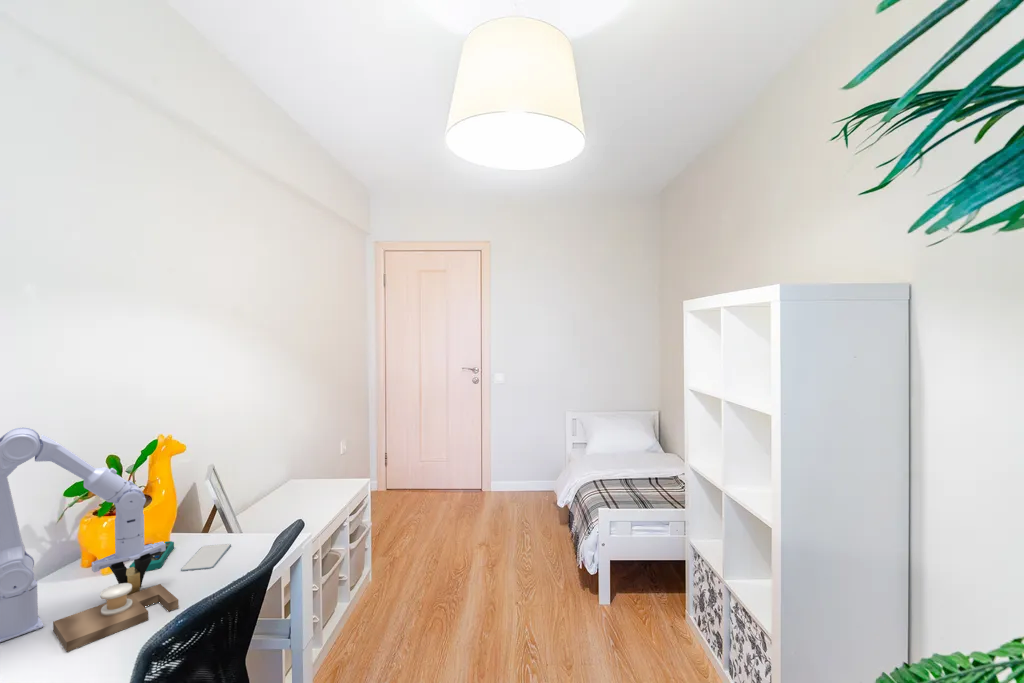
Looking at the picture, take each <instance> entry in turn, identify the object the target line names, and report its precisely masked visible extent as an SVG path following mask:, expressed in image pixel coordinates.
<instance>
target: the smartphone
mask: <svg viewBox="0 0 1024 683" xmlns="http://www.w3.org/2000/svg"><path fill="white" fill-rule="evenodd" d="M231 547H232V544H231V543H222V544H212V545H211V544H210V545H203V546H201V547H200V548H199V549H198V551H196V552H195V554H194V555H192V556H191V558H190V559H189V560H188V561H187V562H186V563H185V564H184V565H183V567H182V568H180V572H188V570H191V571H196V570H197V571H199V570H200V571H201V570H211V569H214V568H215V567H216V565H217V564H218V563H219V562H220V561H221V560H222V558H223V557H224V556H225V555H226V554H227V552H228V551H229V549H231Z"/></svg>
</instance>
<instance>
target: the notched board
mask: <svg viewBox="0 0 1024 683" xmlns="http://www.w3.org/2000/svg"><path fill="white" fill-rule="evenodd" d="M127 599H131V600H132V606H131V607H130V608H129V609H128V610H126V611H124V612H122V613H119V614H115V615H110V616H104V615H102V614H101V608H102V607H103V606H104V605H106V604H107V602H105V603H102V604H99V605H95V606H94V607H90V608H87V609H85V610H82V611H79V612H76V613H73V614H71V615H68V616H65V617H62V618H60V619H57V620H54V621H52V624H53V625H52V629H53V633H54V634H55V636H56V637H57V639H58V640H59V642H60V644H61V645H62V647H63V648H64V651H66V652H70V651H73V650H75V649H78V648H80V647H83V646H85V645H87V644H90V643H93V642H96V641H98V640H100V639H103V638H106V637H108V636H111V635H114V634H116V633H119V632H121V631H124V630H126V629H128V628H131V627H134V626H136V625H139V624H141V623H143V622H146V621H148V620H149V610H148V609H147V607H145V606H148V605H151V604H153V603H156V604H158V603H157V602H160V603H159V604H160V605H161V606H162V605H163V606H162V607H163V608H164V607H165V608H166V609H167V610H168V611H167V610H166V609H165V608H164V609H165V610H166V611H167V612H171V611H170V610H172V611H174V610H176V608H177V609H179V608H180V607H179V606H180V605H179V598H177V597H176V596H175V595H174V594H173V593H171V591H169V590H168V589H166V588H165V587H164V585H162V584H161V583H159V584H156V585H153V586H150V587H148V588H144V589H142V590H141V589H140V591H139V592H136V593H133V594H130V595H127ZM153 605H154V604H153ZM151 606H152V605H151ZM148 607H149V606H148ZM173 609H174V610H173Z"/></svg>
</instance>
